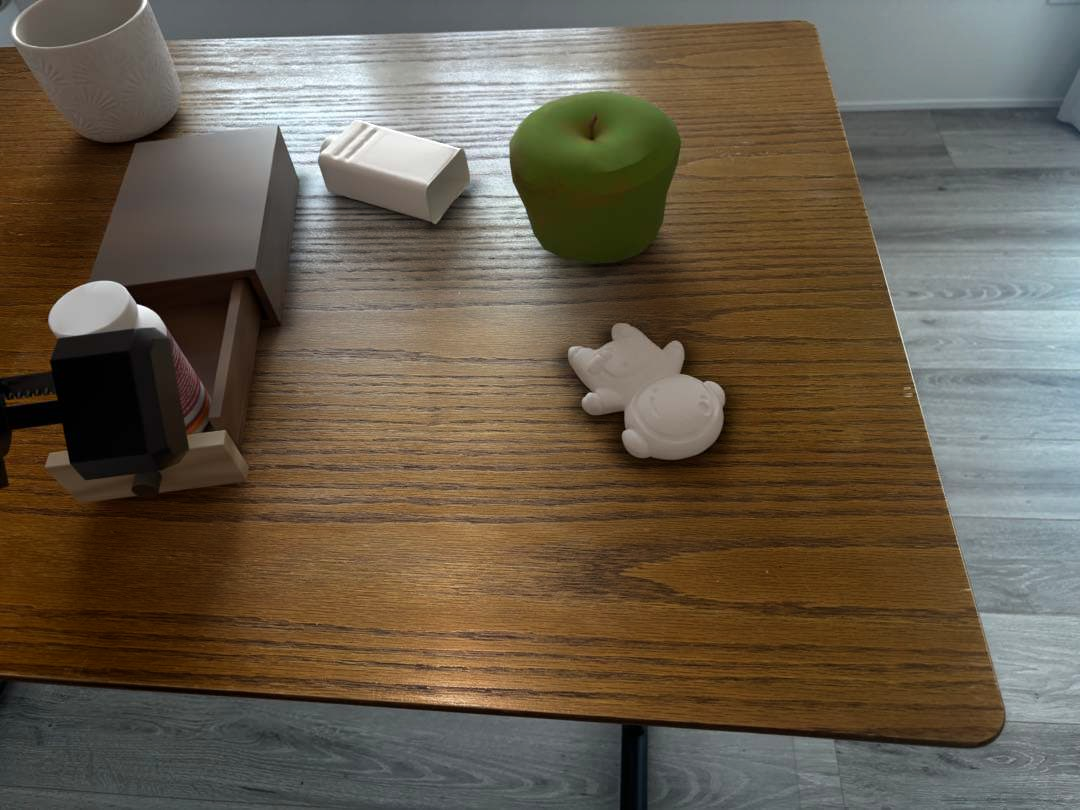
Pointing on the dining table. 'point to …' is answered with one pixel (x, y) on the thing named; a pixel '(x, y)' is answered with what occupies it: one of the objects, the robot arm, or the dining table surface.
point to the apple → (595, 174)
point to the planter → (100, 65)
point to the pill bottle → (117, 310)
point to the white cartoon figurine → (650, 395)
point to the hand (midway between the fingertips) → (63, 403)
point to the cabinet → (205, 215)
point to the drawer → (224, 370)
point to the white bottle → (394, 170)
